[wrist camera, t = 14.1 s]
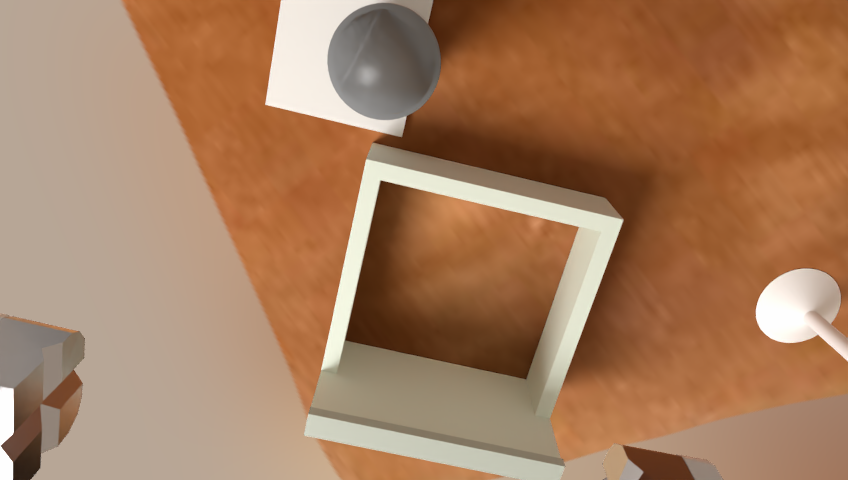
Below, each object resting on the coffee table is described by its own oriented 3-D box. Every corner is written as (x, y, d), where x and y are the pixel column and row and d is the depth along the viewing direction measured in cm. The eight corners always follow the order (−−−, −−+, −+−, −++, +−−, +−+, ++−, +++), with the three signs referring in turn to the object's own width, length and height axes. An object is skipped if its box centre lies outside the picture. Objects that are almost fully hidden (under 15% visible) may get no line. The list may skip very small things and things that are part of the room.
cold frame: (372, 142, 48) (356, 183, 38) (605, 197, 49) (649, 251, 39) (327, 352, 55) (303, 435, 44) (534, 396, 56) (557, 486, 46)
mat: (289, -44, 44) (287, -44, 43) (434, -7, 44) (434, -6, 44) (267, 103, 47) (265, 104, 47) (402, 135, 48) (401, 137, 47)
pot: (358, -12, 44) (341, -12, 35) (450, 15, 44) (454, 21, 36) (337, 82, 46) (316, 103, 38) (425, 106, 47) (423, 132, 38)
